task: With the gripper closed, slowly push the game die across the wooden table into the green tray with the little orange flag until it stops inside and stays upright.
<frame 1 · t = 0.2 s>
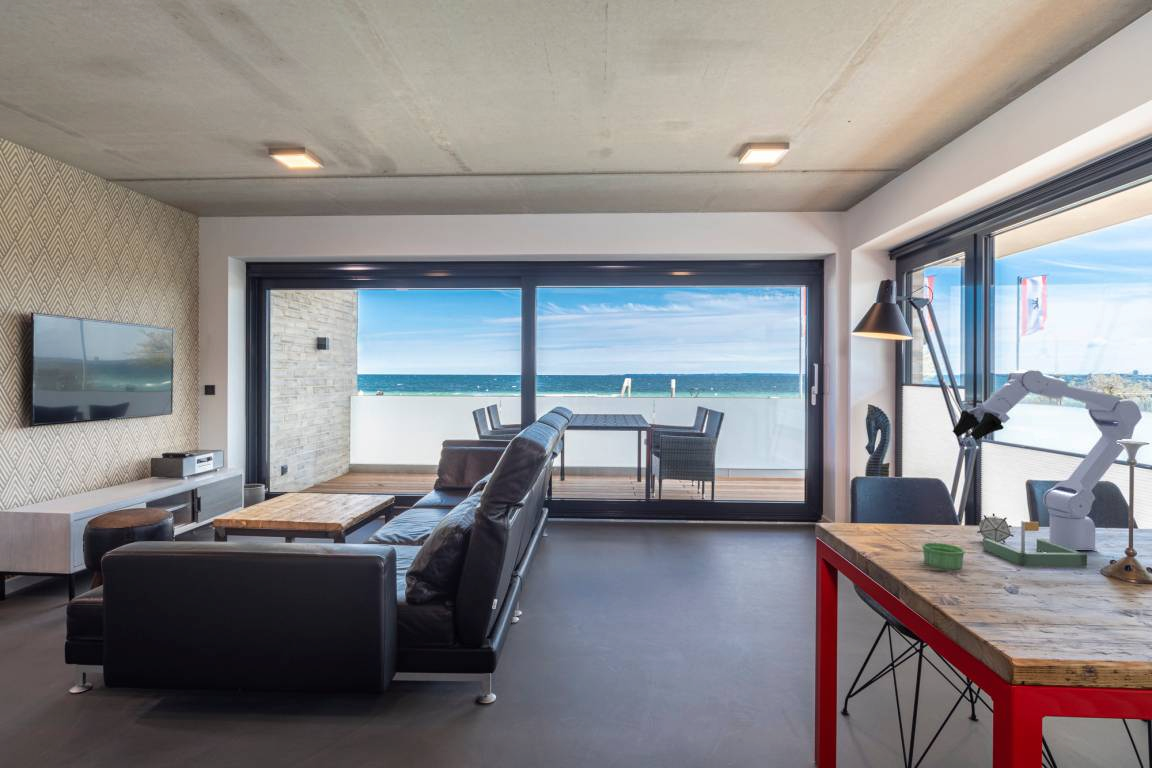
hand: (964, 435, 161), 31 cm above the table, tool tilted 45°, fingers open, 7 cm apart
green tray: (1032, 557, 150), on the table
ramekin: (943, 565, 145), on the table
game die: (994, 543, 164), on the table
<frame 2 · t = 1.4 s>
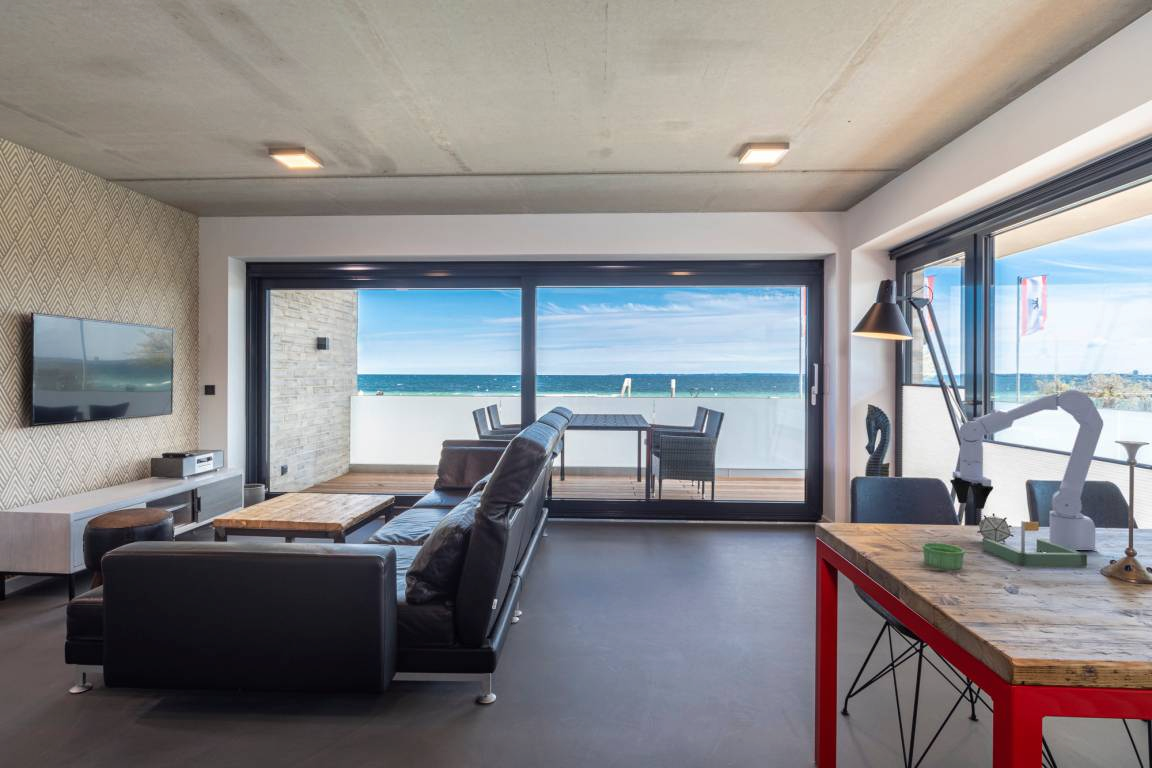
hand: (970, 505, 174), 8 cm above the table, tool pointing down, fingers open, 7 cm apart
nothing on the table moved.
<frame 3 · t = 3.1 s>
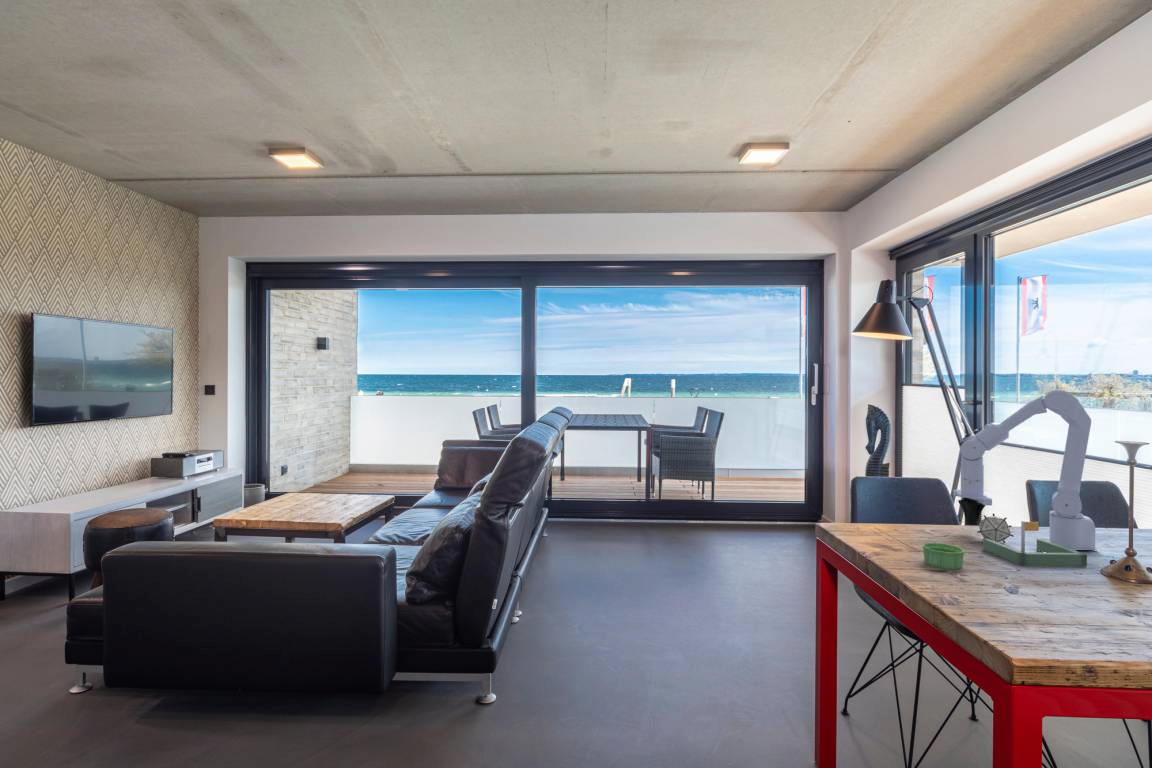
hand: (971, 524, 174), 3 cm above the table, tool pointing down, fingers closed
nothing on the table moved.
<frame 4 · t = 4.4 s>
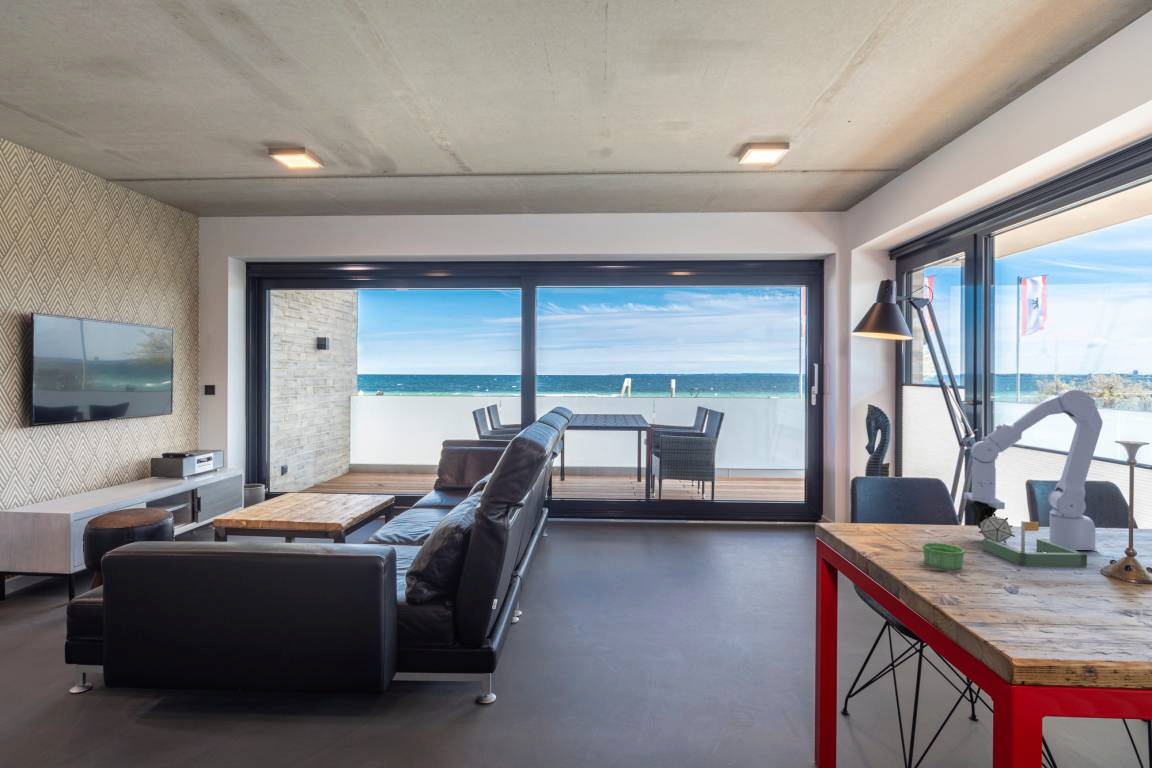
hand: (983, 528, 169), 3 cm above the table, tool pointing down, fingers closed
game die: (995, 543, 164), on the table, touching gripper
everything else where it was.
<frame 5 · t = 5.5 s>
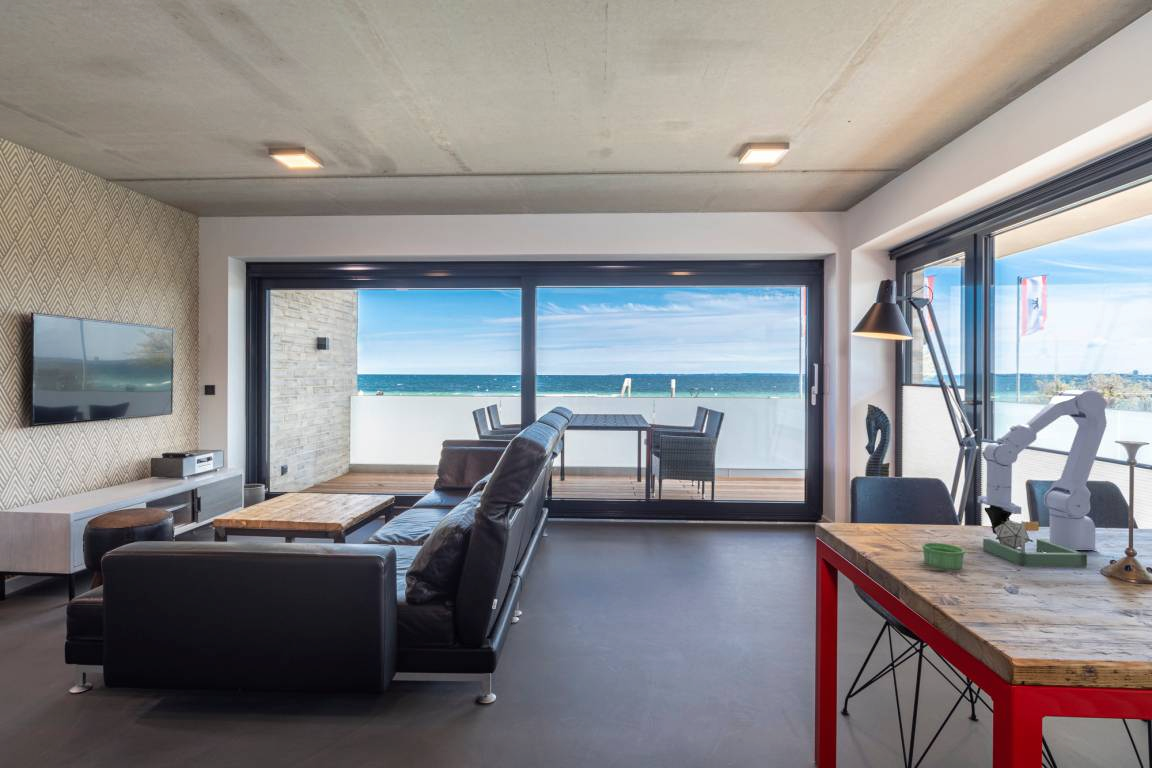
hand: (998, 533, 163), 3 cm above the table, tool pointing down, fingers closed, pressing on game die
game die: (1011, 549, 159), on the table, touching gripper
everything else where it was.
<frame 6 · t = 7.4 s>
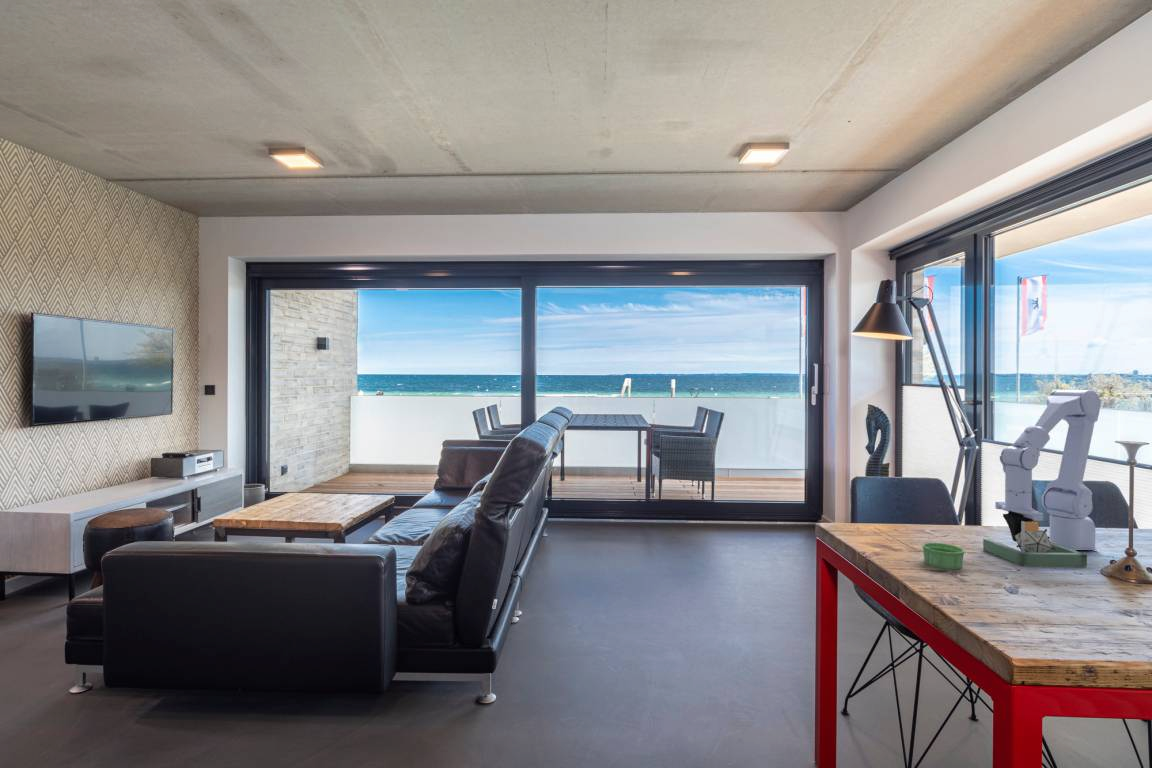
hand: (1017, 541, 155), 3 cm above the table, tool pointing down, fingers closed
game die: (1033, 557, 151), on the table, touching gripper
everything else where it was.
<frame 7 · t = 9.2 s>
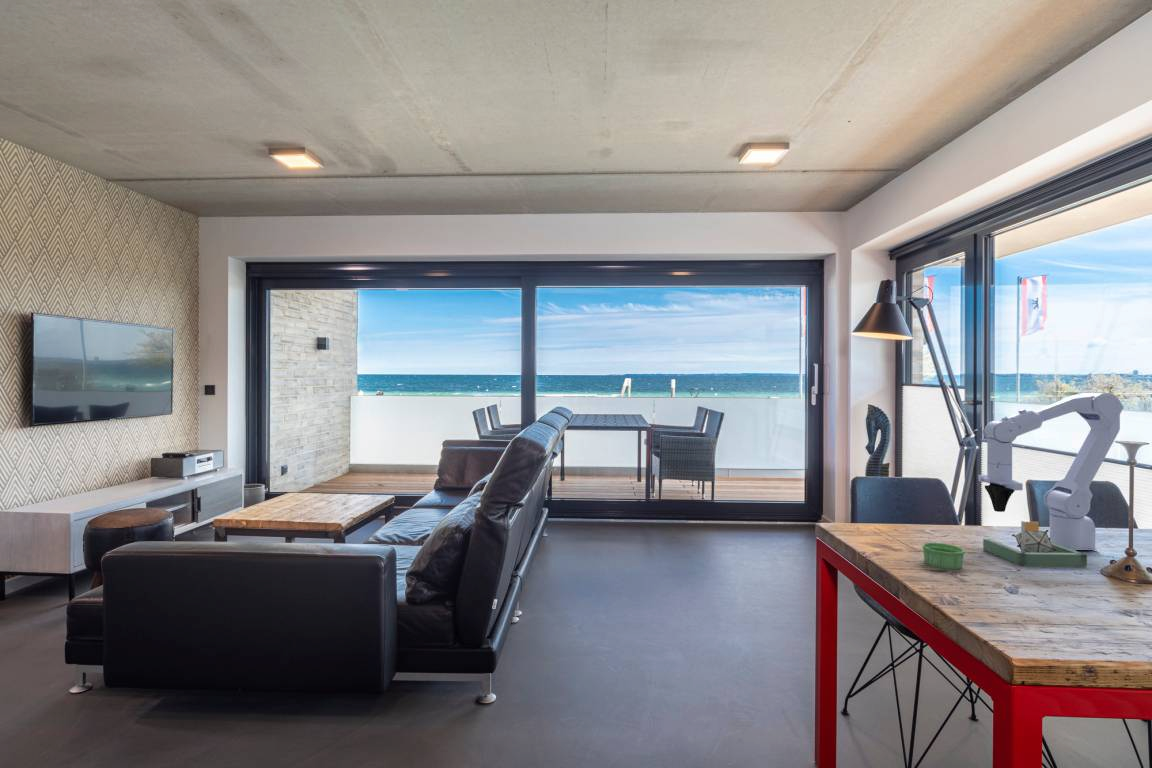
hand: (999, 511, 163), 9 cm above the table, tool pointing down, fingers closed
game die: (1033, 558, 151), on the table
everything else where it was.
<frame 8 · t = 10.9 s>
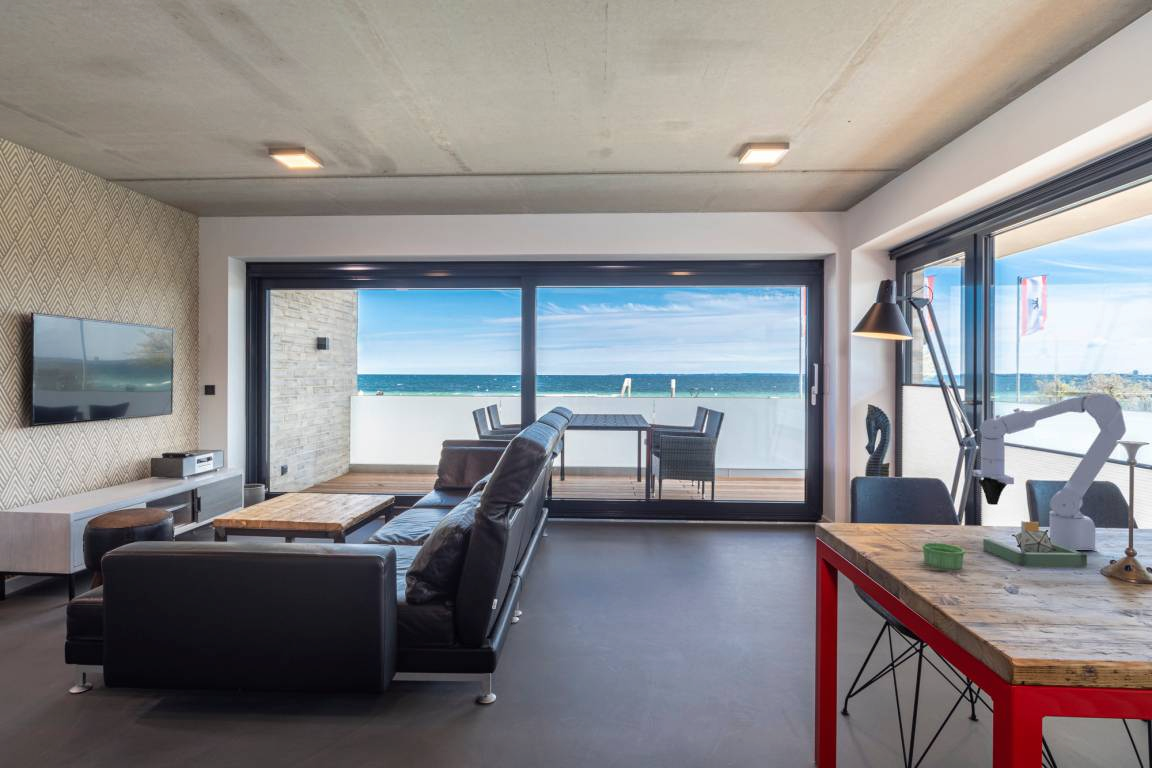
hand: (992, 504, 172), 9 cm above the table, tool pointing down, fingers closed
nothing on the table moved.
at the end: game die inside the target area (1.8 cm from its centre), on the table; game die tilted 0° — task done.
